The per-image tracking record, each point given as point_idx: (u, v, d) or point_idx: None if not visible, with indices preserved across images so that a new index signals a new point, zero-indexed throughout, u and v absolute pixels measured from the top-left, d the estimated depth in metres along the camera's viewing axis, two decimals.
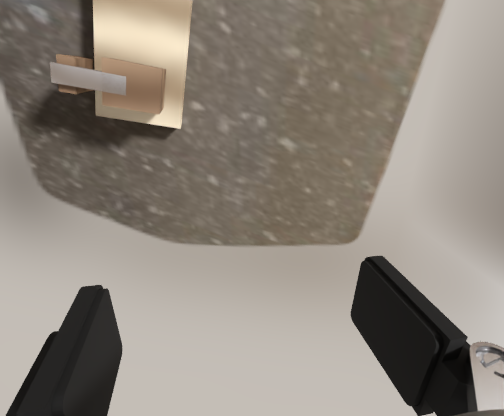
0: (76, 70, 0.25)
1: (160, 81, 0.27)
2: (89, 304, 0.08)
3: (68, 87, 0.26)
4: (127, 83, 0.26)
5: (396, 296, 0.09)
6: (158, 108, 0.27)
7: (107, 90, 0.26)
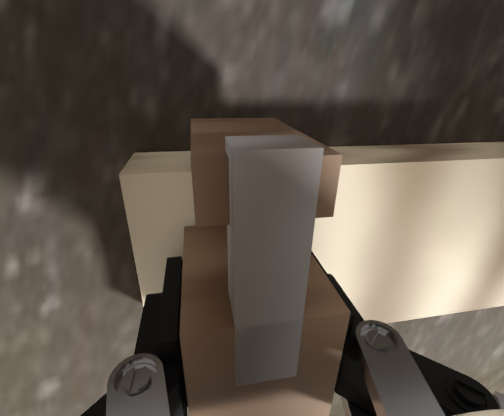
0: (300, 247, 0.06)
1: None
2: (179, 270, 0.10)
3: (217, 197, 0.06)
4: (275, 383, 0.08)
5: None
6: None
7: (241, 341, 0.07)
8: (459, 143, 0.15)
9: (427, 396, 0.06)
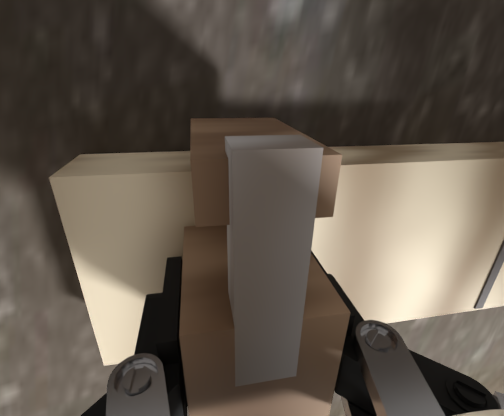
0: (299, 247, 0.06)
1: None
2: (179, 270, 0.10)
3: (216, 197, 0.06)
4: (275, 383, 0.08)
5: None
6: None
7: (241, 341, 0.07)
8: (424, 144, 0.15)
9: (427, 396, 0.06)
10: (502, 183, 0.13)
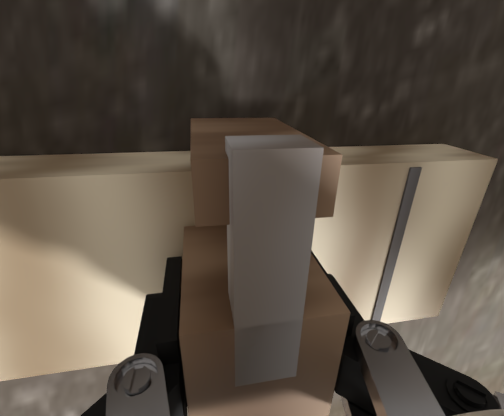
0: (299, 247, 0.06)
1: None
2: (179, 270, 0.10)
3: (216, 197, 0.06)
4: (275, 383, 0.08)
5: None
6: None
7: (241, 342, 0.07)
8: None
9: (427, 396, 0.06)
10: (371, 191, 0.12)
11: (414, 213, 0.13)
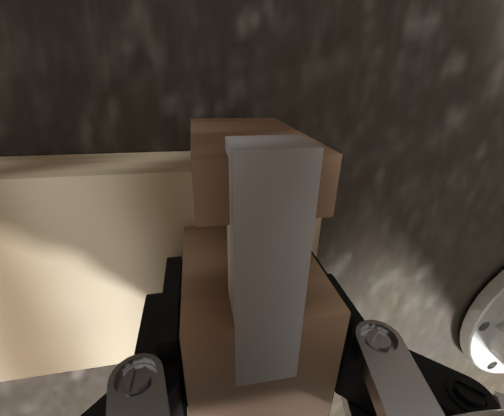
0: (300, 247, 0.06)
1: None
2: (179, 270, 0.10)
3: (216, 197, 0.06)
4: (275, 383, 0.08)
5: None
6: None
7: (241, 342, 0.07)
8: (128, 153, 0.12)
9: (427, 396, 0.06)
10: (177, 203, 0.11)
11: None
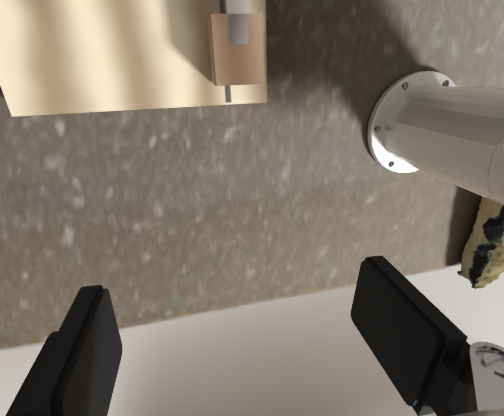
0: None
1: (251, 83, 0.24)
2: (89, 304, 0.08)
3: None
4: (242, 45, 0.23)
5: (396, 296, 0.09)
6: (223, 84, 0.24)
7: (229, 20, 0.22)
8: None
9: None
10: (203, 13, 0.26)
11: None
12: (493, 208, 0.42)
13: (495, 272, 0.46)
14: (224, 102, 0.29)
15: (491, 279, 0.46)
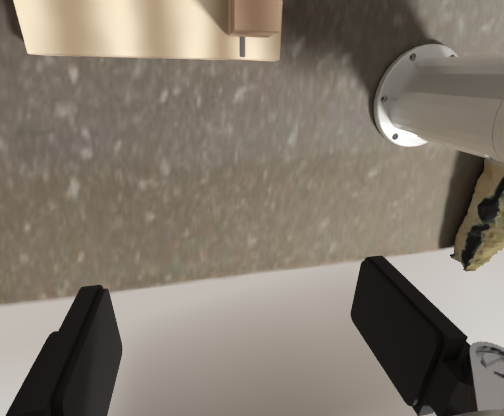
0: None
1: (268, 30, 0.25)
2: (89, 304, 0.08)
3: None
4: None
5: (396, 296, 0.09)
6: (241, 28, 0.24)
7: None
8: None
9: None
10: None
11: None
12: (488, 188, 0.43)
13: (487, 254, 0.47)
14: (238, 56, 0.30)
15: (483, 261, 0.47)
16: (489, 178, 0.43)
